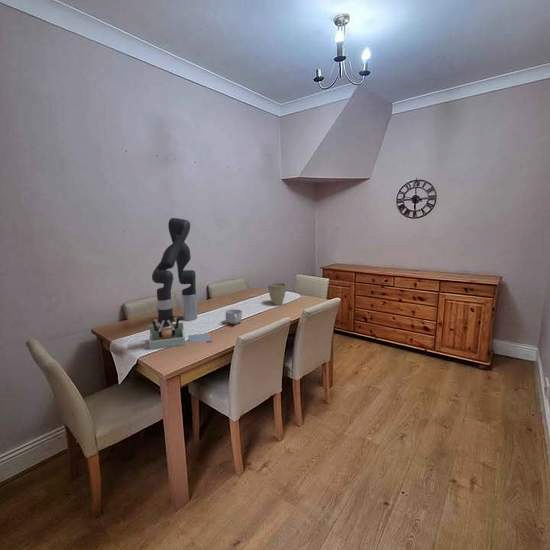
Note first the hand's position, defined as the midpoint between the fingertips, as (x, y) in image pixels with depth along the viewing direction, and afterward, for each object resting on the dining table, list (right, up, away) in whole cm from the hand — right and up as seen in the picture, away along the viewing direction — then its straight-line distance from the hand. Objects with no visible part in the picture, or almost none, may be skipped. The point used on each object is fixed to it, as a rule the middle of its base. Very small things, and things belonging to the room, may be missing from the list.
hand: (167, 336), depth 166 cm
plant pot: (+61, +10, +77) cm, 99 cm away
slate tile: (+16, -3, +6) cm, 18 cm away
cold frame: (0, -4, +1) cm, 4 cm away
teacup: (+32, +2, +33) cm, 46 cm away
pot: (0, -1, 0) cm, 1 cm away
